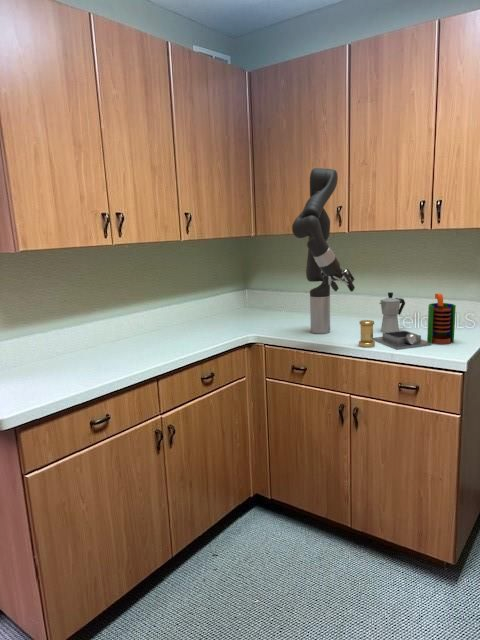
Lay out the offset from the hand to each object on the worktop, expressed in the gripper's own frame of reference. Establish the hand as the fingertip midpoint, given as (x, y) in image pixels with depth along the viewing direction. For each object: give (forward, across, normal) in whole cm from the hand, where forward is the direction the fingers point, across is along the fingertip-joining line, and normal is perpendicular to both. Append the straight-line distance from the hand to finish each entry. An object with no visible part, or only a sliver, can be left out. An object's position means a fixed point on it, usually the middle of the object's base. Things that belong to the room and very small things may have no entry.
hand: (344, 290), depth 198 cm
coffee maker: (+40, +4, -14) cm, 42 cm away
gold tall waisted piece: (+23, -5, +9) cm, 25 cm away
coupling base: (+31, -12, -1) cm, 33 cm away
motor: (+38, -23, -9) cm, 45 cm away
